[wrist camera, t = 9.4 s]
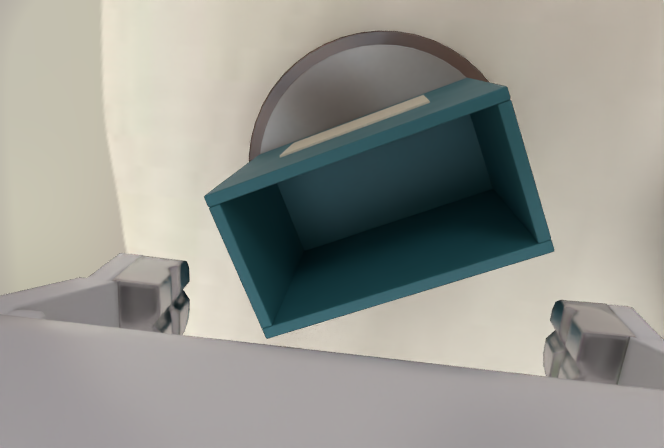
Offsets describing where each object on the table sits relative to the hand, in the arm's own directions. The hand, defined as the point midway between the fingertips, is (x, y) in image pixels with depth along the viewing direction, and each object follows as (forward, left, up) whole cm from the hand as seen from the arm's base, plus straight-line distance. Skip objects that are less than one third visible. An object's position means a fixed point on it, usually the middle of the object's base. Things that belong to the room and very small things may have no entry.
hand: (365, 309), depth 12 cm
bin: (+1, +1, -19) cm, 19 cm away
